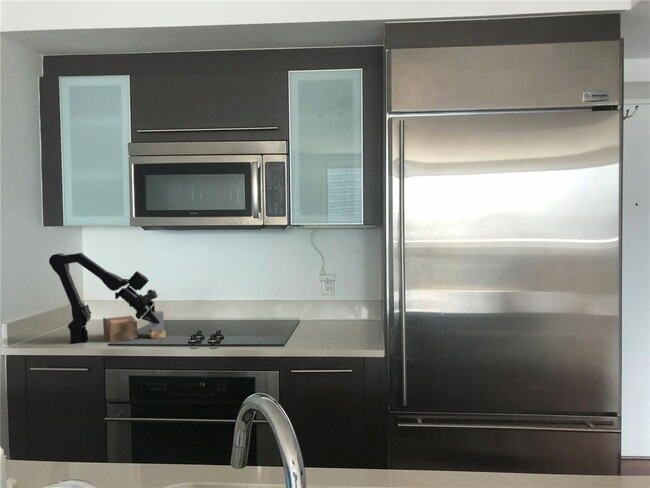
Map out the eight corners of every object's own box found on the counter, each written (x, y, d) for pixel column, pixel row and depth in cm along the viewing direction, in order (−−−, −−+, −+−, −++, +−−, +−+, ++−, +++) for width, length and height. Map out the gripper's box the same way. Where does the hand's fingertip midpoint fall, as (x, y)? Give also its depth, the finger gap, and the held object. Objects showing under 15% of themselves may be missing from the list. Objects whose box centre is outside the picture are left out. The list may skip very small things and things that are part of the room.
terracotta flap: (110, 324, 247) (109, 321, 246) (106, 320, 255) (106, 318, 255) (135, 321, 251) (135, 318, 251) (131, 317, 260) (130, 315, 260)
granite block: (152, 331, 250) (151, 313, 249) (149, 329, 254) (149, 311, 254) (164, 330, 252) (163, 312, 252) (161, 328, 256) (160, 310, 256)
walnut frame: (108, 342, 245) (107, 322, 245) (103, 337, 256) (103, 318, 256) (137, 338, 251) (136, 319, 250) (132, 333, 262) (131, 315, 262)
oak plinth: (151, 339, 249) (151, 332, 249) (148, 336, 254) (148, 329, 254) (165, 337, 252) (165, 330, 252) (162, 334, 257) (162, 328, 257)
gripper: (142, 287, 242) (170, 311, 245) (148, 282, 261) (174, 305, 263) (123, 306, 241) (152, 331, 244) (131, 300, 260) (157, 323, 262)
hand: (159, 321), depth 253 cm, fingers closed on granite block, 6 cm apart
